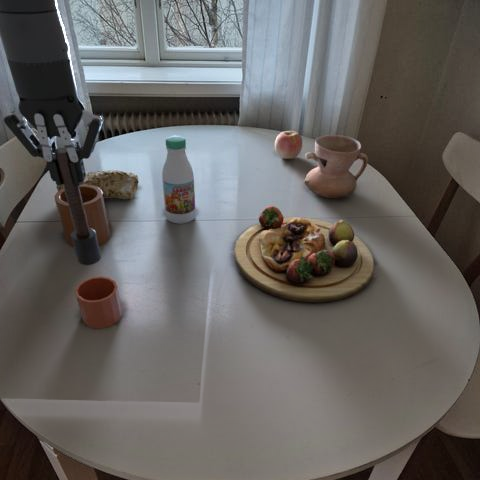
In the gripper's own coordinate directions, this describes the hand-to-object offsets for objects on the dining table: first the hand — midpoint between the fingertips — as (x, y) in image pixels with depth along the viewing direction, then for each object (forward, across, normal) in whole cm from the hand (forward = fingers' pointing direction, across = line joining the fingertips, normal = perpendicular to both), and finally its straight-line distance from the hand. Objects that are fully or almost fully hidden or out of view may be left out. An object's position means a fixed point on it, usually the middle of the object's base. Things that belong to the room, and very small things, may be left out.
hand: (70, 182), depth 66 cm
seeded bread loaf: (+27, -12, +47) cm, 55 cm away
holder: (+27, 0, -1) cm, 27 cm away
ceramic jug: (+27, +53, +55) cm, 81 cm away
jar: (+27, -10, +27) cm, 39 cm away
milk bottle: (+27, +11, +38) cm, 48 cm away
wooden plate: (+27, +41, +20) cm, 53 cm away
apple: (+27, +42, +79) cm, 94 cm away
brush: (+14, 0, 0) cm, 14 cm away
